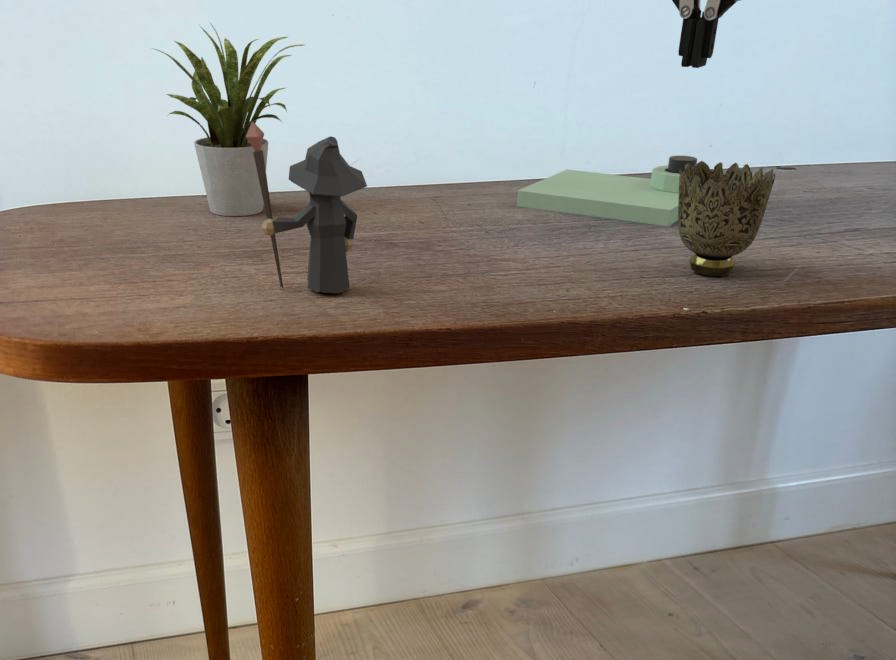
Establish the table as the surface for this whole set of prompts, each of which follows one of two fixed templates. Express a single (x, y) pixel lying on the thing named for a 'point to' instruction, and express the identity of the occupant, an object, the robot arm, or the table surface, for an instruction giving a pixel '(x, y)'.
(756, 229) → the cup
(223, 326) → the table surface
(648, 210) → the scale
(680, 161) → the button
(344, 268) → the wizard figurine
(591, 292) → the table surface
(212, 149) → the house plant
